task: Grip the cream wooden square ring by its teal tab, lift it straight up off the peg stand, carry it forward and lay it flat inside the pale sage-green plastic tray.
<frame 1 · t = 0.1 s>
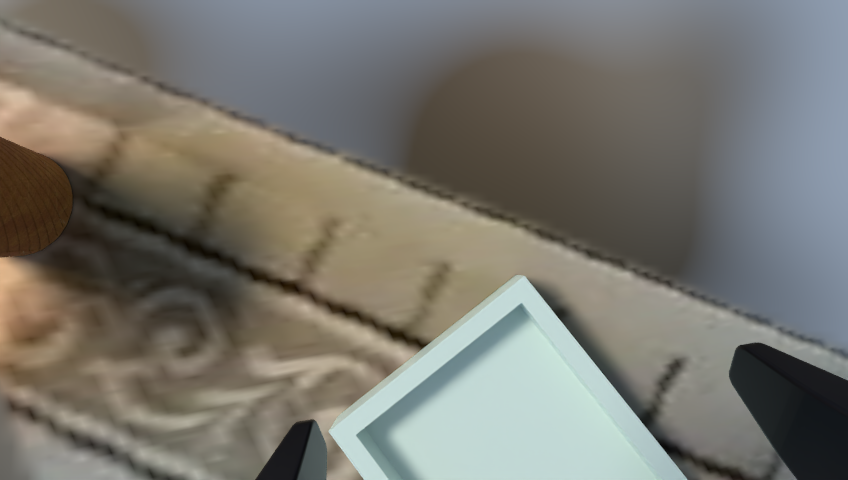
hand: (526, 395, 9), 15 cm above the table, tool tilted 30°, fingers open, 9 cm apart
disposable coffee cup: (25, 203, 24), on the table
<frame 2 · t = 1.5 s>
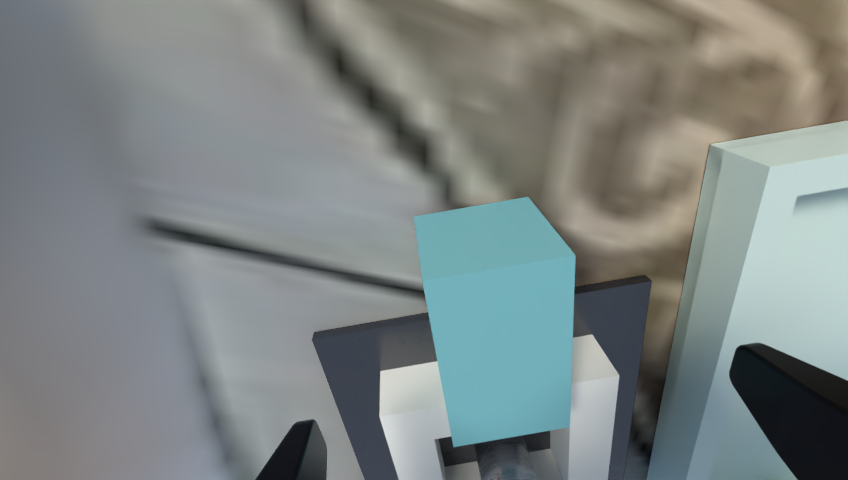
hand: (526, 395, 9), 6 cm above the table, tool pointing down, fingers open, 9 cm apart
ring: (493, 422, 17), resting on peg stand
tray: (821, 341, 17), on the table
peg stand: (491, 414, 17), on the table
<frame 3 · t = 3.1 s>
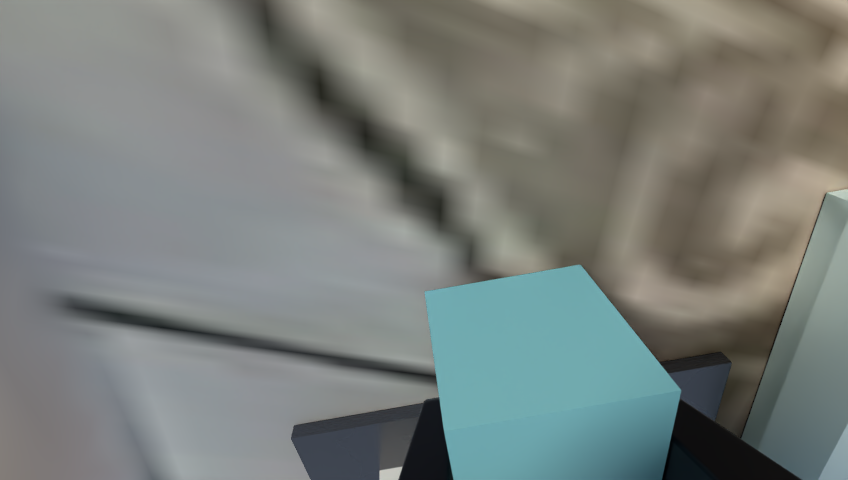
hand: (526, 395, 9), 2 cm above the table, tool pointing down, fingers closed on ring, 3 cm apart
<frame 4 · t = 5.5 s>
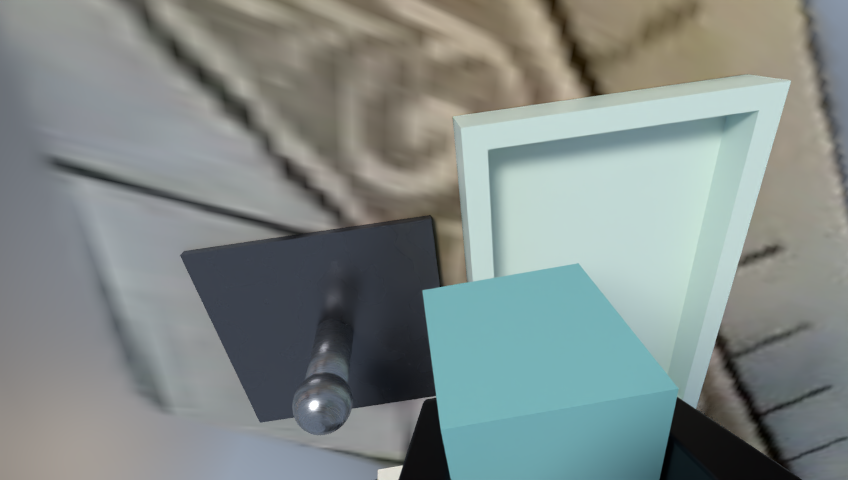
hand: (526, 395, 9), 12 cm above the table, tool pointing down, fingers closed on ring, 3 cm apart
tray: (585, 276, 22), on the table
peg stand: (335, 328, 22), on the table
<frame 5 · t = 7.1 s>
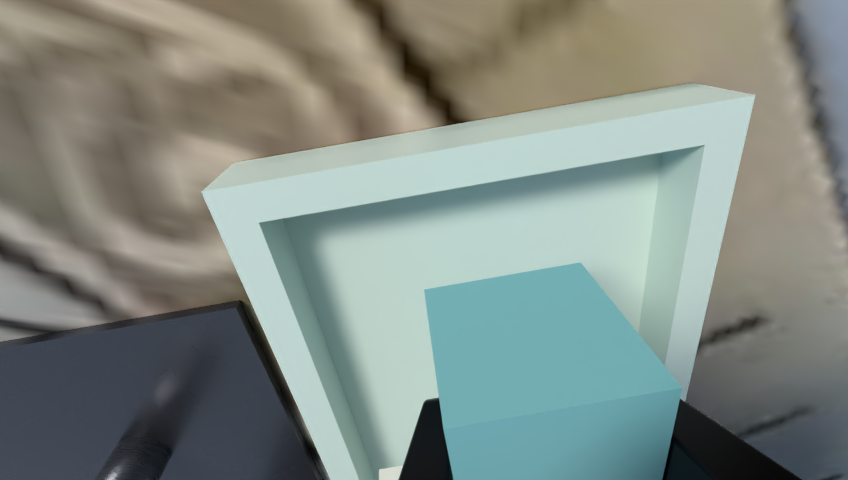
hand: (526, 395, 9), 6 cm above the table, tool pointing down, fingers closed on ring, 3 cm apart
tray: (488, 367, 16), on the table
peg stand: (148, 444, 16), on the table
when the fingers open (3 cm above the table, at t = 8.2 s): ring drops 1 cm, resting on tray.
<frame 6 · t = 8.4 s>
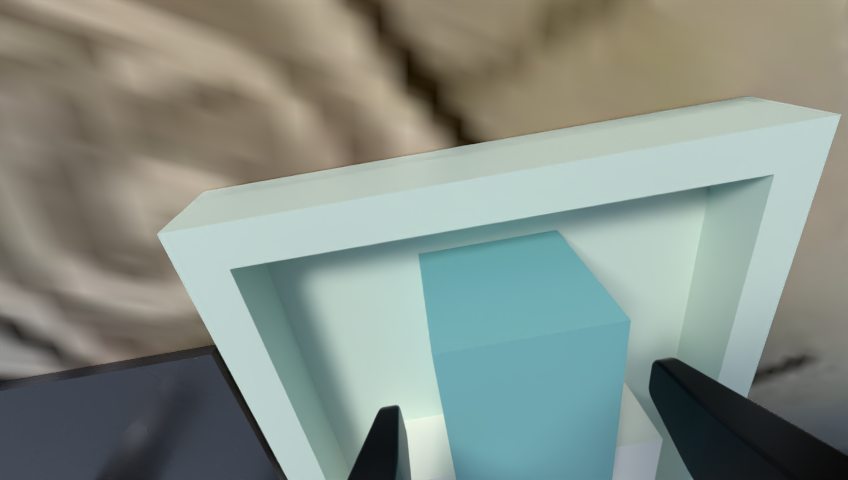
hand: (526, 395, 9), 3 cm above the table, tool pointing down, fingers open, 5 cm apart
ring: (508, 477, 15), point 1 cm above the table, touching tray
tray: (500, 412, 14), on the table
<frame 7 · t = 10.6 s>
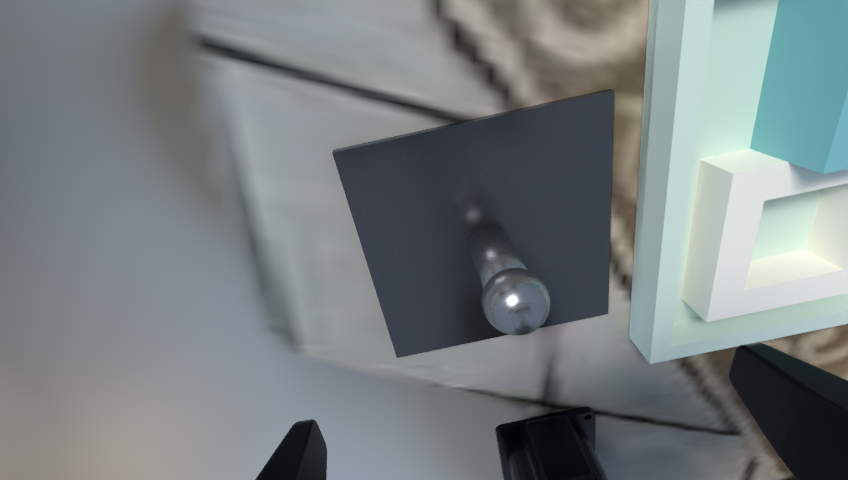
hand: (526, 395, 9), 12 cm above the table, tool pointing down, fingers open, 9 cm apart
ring: (769, 218, 20), point 1 cm above the table, touching tray
tray: (772, 160, 19), on the table
peg stand: (487, 240, 20), on the table
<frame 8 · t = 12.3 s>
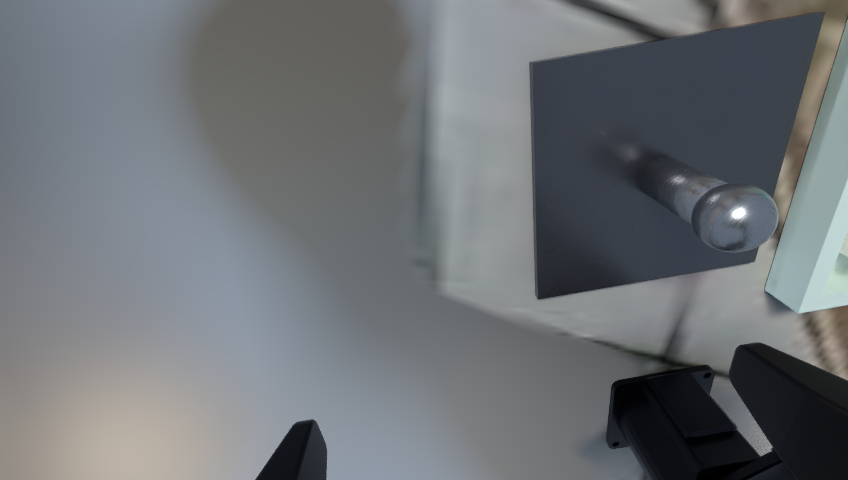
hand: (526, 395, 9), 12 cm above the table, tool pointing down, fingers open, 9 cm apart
peg stand: (655, 174, 20), on the table
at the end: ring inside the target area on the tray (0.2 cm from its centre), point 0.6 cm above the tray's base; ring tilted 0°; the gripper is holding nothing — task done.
